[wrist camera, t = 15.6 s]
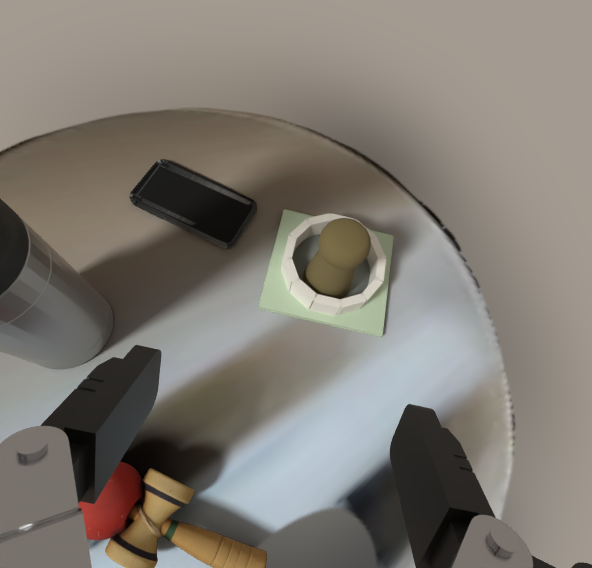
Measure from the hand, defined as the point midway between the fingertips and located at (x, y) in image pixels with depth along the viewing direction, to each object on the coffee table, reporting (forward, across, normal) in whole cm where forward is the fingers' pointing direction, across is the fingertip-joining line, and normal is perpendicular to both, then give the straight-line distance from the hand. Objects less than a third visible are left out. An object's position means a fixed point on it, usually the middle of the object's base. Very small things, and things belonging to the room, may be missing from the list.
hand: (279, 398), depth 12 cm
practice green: (+35, -5, +7) cm, 36 cm away
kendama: (+14, +6, +28) cm, 32 cm away
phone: (+39, +14, +4) cm, 41 cm away
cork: (+33, -5, +8) cm, 34 cm away
